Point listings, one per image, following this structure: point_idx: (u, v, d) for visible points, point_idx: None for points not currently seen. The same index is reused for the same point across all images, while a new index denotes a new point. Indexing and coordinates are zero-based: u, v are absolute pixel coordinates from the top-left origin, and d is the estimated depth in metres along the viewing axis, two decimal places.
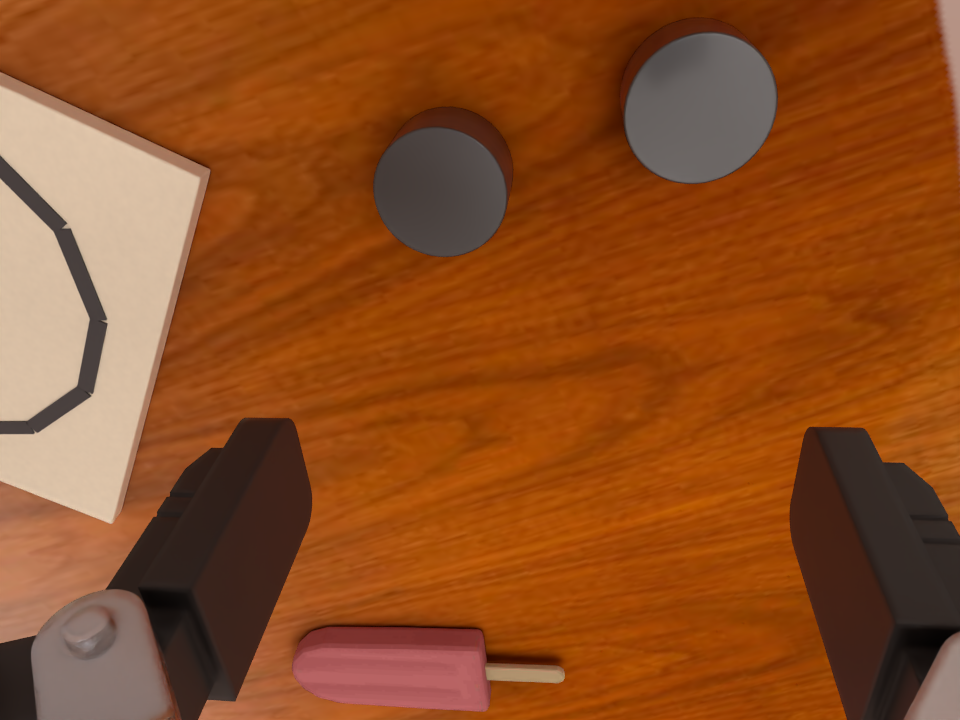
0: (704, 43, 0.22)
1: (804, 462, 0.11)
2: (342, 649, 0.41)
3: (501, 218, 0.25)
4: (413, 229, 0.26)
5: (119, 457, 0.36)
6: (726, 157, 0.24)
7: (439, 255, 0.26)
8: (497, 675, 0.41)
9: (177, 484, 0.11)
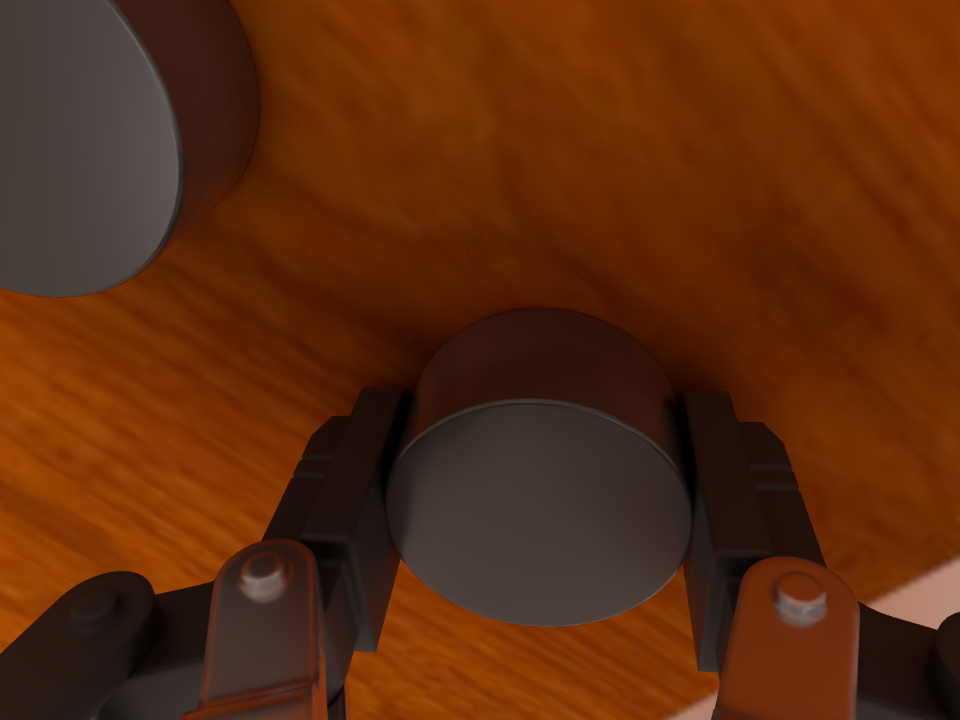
0: (658, 480, 0.10)
1: None
2: None
3: (73, 293, 0.10)
4: None
5: None
6: (487, 594, 0.12)
7: None
8: None
9: (307, 449, 0.12)
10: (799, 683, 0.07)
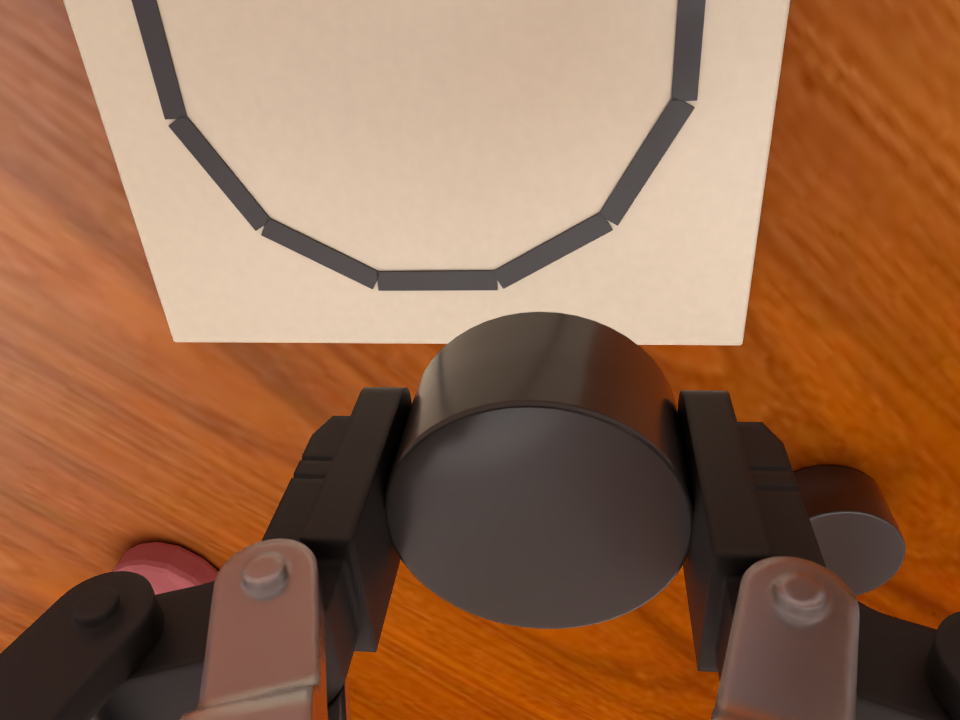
0: (658, 482, 0.10)
1: None
2: None
3: None
4: None
5: (296, 333, 0.27)
6: (487, 596, 0.12)
7: None
8: None
9: (307, 449, 0.12)
10: (799, 683, 0.07)
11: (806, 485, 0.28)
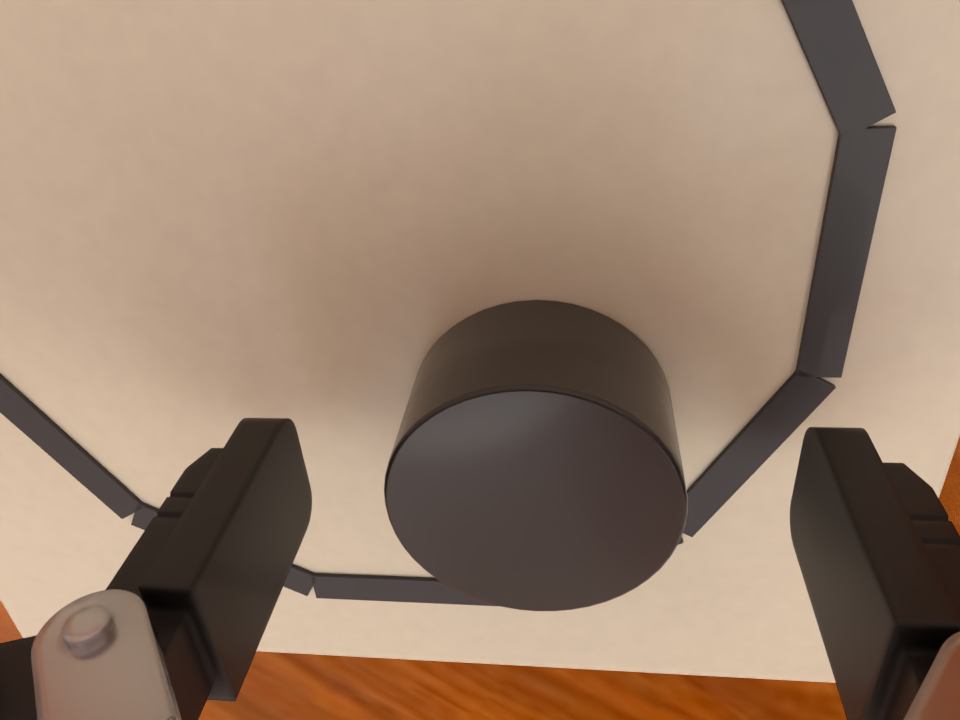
0: (652, 465, 0.11)
1: (804, 462, 0.11)
2: None
3: None
4: None
5: None
6: (485, 579, 0.12)
7: None
8: None
9: (177, 484, 0.11)
10: None
11: None
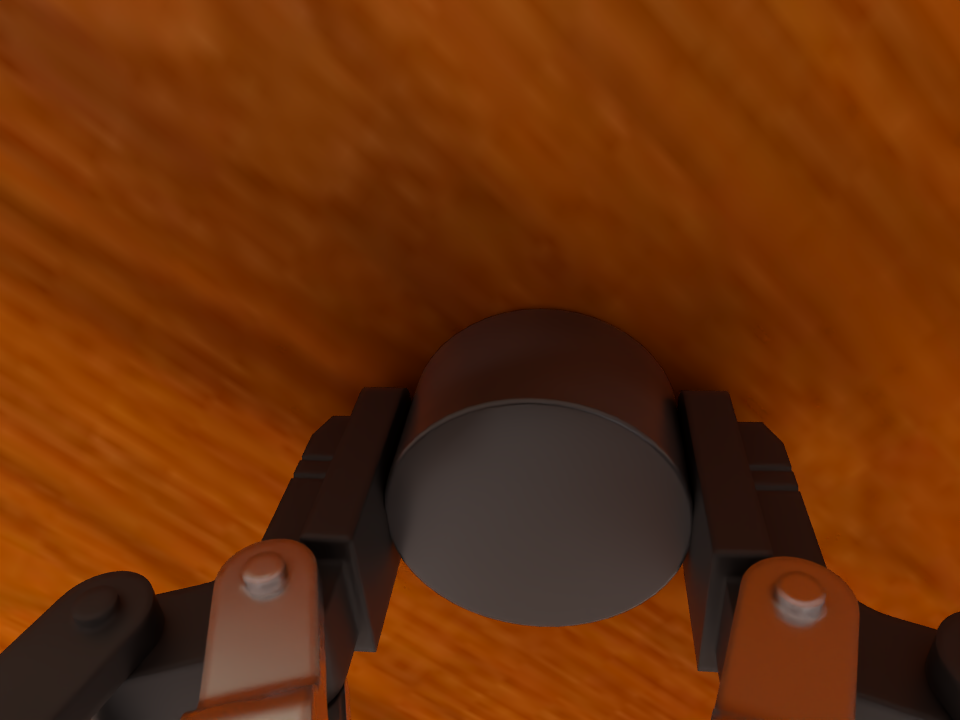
0: None
1: None
2: None
3: (552, 625, 0.12)
4: (429, 506, 0.11)
5: None
6: None
7: (407, 561, 0.12)
8: None
9: (307, 449, 0.12)
10: (799, 683, 0.07)
11: (467, 351, 0.11)
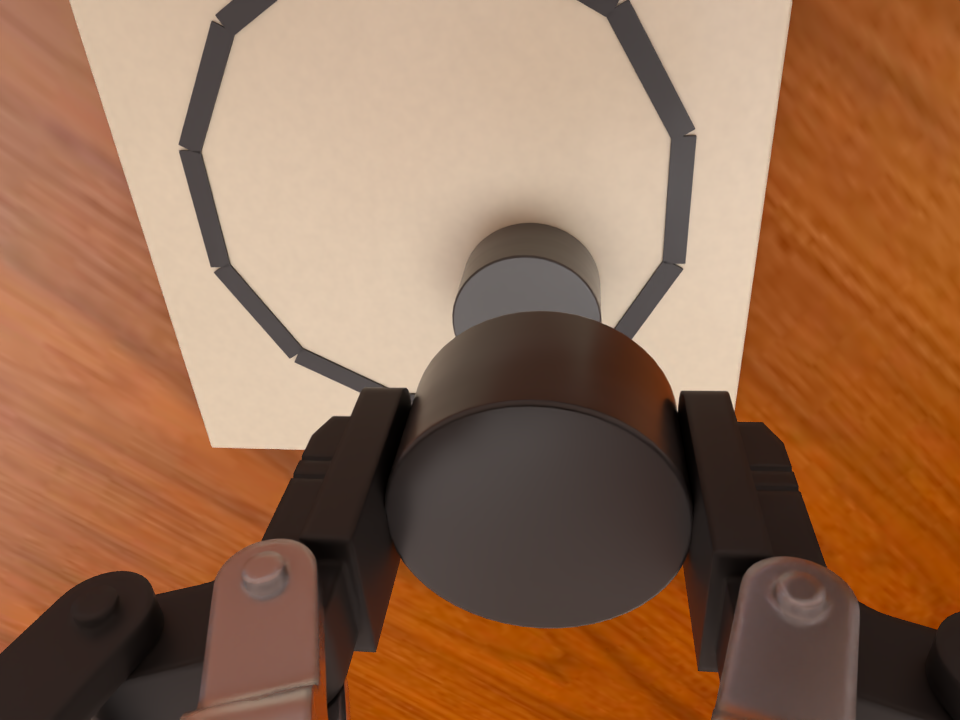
0: (583, 296, 0.22)
1: None
2: None
3: (552, 626, 0.12)
4: (430, 508, 0.11)
5: None
6: None
7: (407, 563, 0.12)
8: None
9: (307, 448, 0.12)
10: (800, 683, 0.07)
11: (468, 354, 0.12)
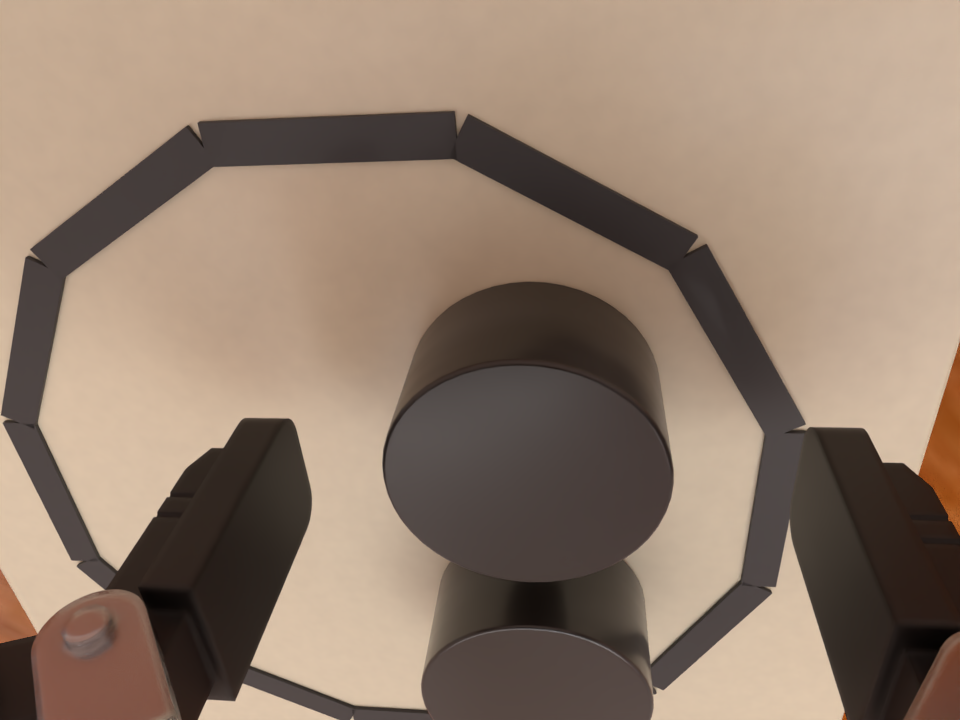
0: (625, 678, 0.14)
1: (804, 462, 0.11)
2: None
3: (541, 580, 0.13)
4: (425, 465, 0.12)
5: None
6: None
7: (404, 520, 0.12)
8: None
9: (177, 484, 0.11)
10: None
11: (461, 321, 0.12)
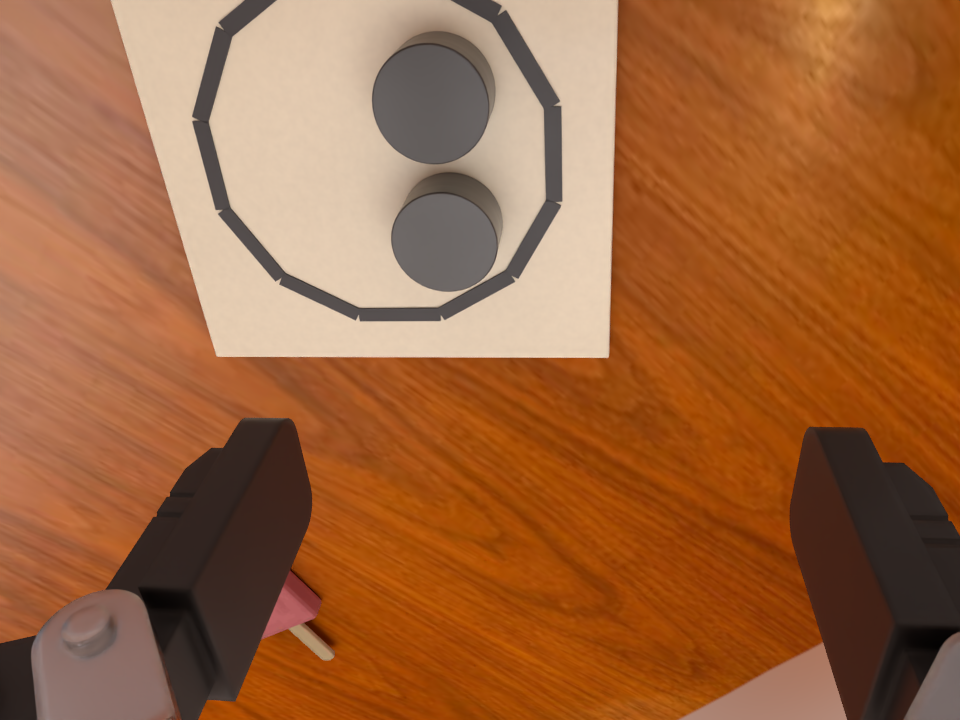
0: (482, 222, 0.31)
1: (804, 462, 0.11)
2: None
3: (441, 162, 0.30)
4: (389, 99, 0.29)
5: (303, 350, 0.39)
6: (428, 276, 0.33)
7: (381, 130, 0.30)
8: (295, 629, 0.51)
9: (177, 484, 0.11)
10: None
11: (404, 43, 0.29)
